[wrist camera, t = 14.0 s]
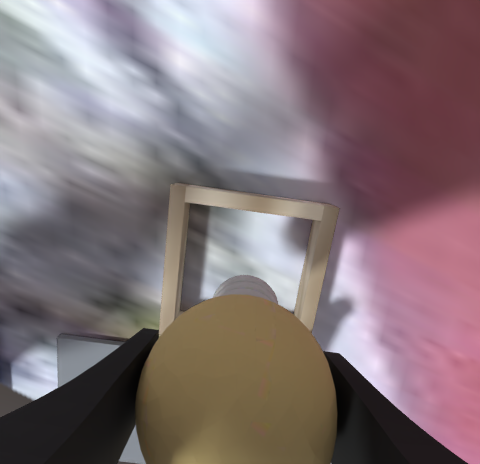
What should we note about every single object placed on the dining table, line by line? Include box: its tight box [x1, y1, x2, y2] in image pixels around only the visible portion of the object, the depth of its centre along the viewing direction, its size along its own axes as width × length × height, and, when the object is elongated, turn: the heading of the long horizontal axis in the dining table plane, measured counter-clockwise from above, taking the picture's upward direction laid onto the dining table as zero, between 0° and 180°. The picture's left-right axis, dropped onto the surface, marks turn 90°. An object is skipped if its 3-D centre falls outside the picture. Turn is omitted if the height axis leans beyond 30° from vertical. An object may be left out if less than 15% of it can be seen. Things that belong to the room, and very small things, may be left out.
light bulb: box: [135, 275, 337, 464], centre depth 11 cm, size 6×6×10 cm
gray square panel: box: [57, 334, 146, 464], centre depth 23 cm, size 12×12×1 cm
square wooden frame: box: [159, 183, 340, 335], centre depth 20 cm, size 11×11×2 cm
